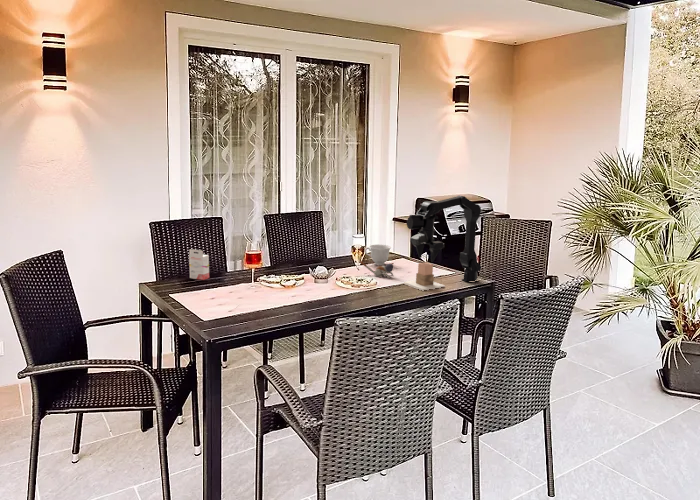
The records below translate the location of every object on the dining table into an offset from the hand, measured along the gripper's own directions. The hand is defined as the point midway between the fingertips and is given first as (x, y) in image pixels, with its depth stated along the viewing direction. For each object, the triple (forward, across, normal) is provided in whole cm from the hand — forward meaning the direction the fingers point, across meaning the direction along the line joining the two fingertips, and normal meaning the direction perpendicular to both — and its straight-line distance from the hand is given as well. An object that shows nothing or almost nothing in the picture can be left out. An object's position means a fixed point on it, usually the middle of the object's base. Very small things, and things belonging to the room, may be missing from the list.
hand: (425, 259), depth 284 cm
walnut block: (+12, 0, 0) cm, 12 cm away
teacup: (+13, -48, +6) cm, 50 cm away
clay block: (+7, 0, 0) cm, 7 cm away
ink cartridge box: (+13, -63, -91) cm, 111 cm away
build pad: (+13, 0, 0) cm, 13 cm away
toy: (+13, -28, -9) cm, 32 cm away
